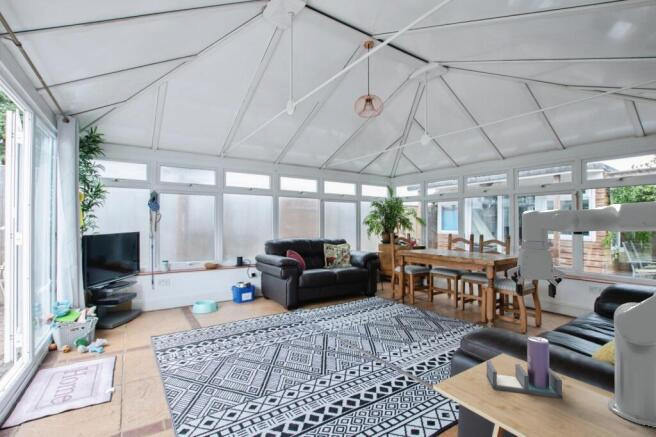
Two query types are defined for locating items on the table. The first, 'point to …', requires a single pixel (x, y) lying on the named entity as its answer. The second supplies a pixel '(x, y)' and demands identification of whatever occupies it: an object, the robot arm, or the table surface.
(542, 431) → the table surface
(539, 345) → the beverage can
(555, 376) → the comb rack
